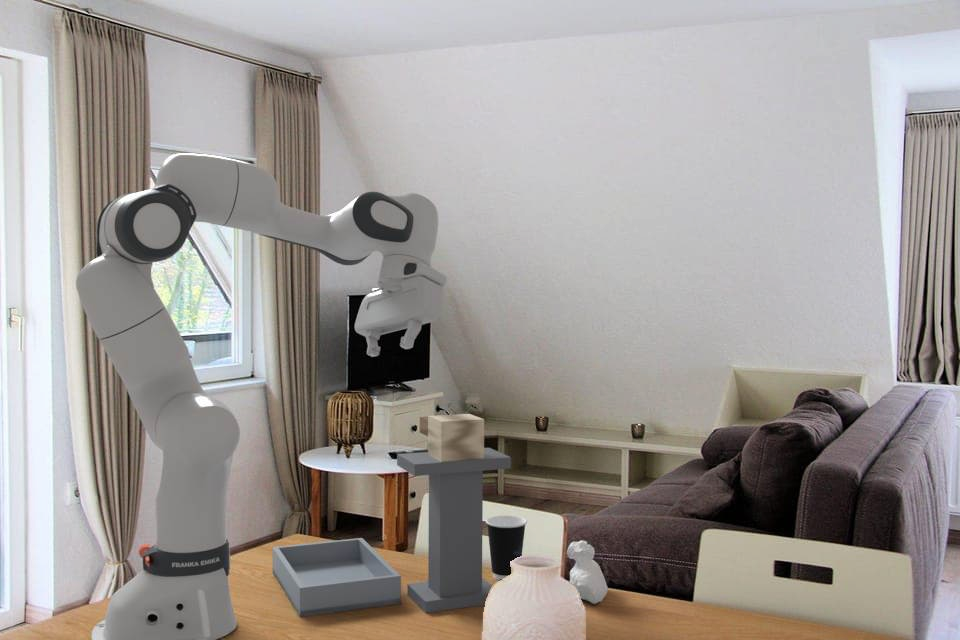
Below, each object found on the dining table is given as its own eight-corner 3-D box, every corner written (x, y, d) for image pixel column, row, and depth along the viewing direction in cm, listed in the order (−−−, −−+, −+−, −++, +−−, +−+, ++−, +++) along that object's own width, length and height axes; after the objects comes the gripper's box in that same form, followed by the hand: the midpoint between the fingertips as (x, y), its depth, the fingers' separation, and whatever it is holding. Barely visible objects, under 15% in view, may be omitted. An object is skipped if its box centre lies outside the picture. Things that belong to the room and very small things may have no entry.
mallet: (441, 461, 164) (441, 421, 163) (407, 443, 181) (407, 407, 181) (483, 458, 167) (484, 419, 166) (446, 440, 184) (446, 405, 184)
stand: (414, 614, 163) (414, 464, 161) (396, 596, 172) (397, 454, 171) (509, 601, 169) (510, 457, 168) (488, 584, 179) (489, 447, 177)
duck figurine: (589, 598, 178) (553, 548, 179) (621, 575, 176) (585, 526, 177) (583, 620, 166) (544, 568, 167) (617, 597, 165) (578, 544, 166)
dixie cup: (529, 582, 180) (529, 525, 179) (487, 583, 179) (488, 526, 178) (523, 569, 188) (523, 514, 187) (483, 570, 187) (483, 515, 186)
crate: (299, 617, 161) (299, 588, 161) (272, 572, 185) (272, 547, 185) (400, 603, 168) (400, 575, 168) (362, 562, 192) (362, 537, 192)
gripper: (355, 284, 175) (339, 353, 170) (426, 261, 161) (412, 336, 156) (381, 297, 179) (367, 365, 174) (453, 275, 165) (440, 349, 160)
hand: (388, 351), depth 165 cm, fingers open, 8 cm apart
